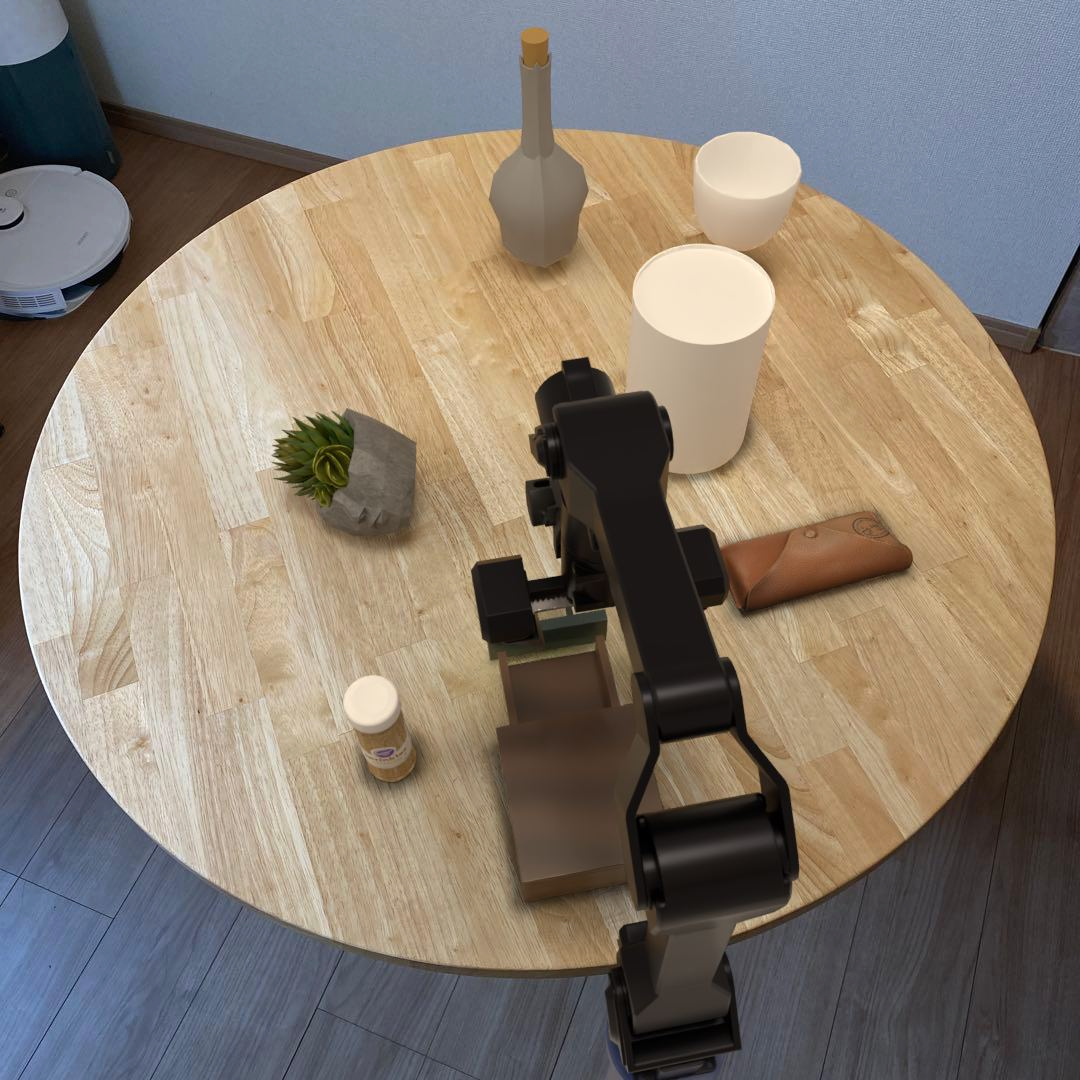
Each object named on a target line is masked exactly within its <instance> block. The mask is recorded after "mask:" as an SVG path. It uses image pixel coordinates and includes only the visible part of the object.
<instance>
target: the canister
mask: <svg viewBox="0 0 1080 1080" xmlns="http://www.w3.org/2000/svg"><path fill="white" fill-rule="evenodd" d="M775 305H776V290H775V286H774V283H773V281H772V278H770V276H769V274H768V273H767V272H766V270H765V269H764V268H763V266H761V265H760V264H759V263H758V262H757V261H755V259H753V258H752V257H750V256H748V255H746V254H744V253H742V252H741V251H736V250H733V249H730V248H727V247H723V246H718V245H716V244H710V243H687V244H681V245H676V246H673V247H670V248H667V249H665V250H662V251H661V252H659V253H657V254H655V255H653V256H652V257H651V258H649V259H648V260H647V261H646V262H644V264H643V265H642V266H641V267H640V268H639V270H638V272H637V273H636V275H635V277H634V281H633V284H632V297H631V309H630V321H629V322H630V324H629V334H628V335H629V336H628V351H627V362H626V364H627V365H626V376H625V377H626V378H625V389H624V393H630V392H636V391H649V392H651V393H652V394H653V396H654V397H655V400H656V402H657V404H658V406H662V405H663V406H665V408H666V410H667V412H668V415H669V418H670V422H671V426H672V432H673V441H674V455H673V459H672V461H671V462H669V473H672V474H678V475H679V474H680V475H695V474H702V473H706V472H710V471H713V470H715V469H717V468H719V467H722V466H724V465H725V464H726V463H729V461H731V460H732V459H733V458H734V457H735V456H736V454H737V453H738V452H739V450H740V449H741V447H742V444H743V443H744V439H745V434H746V430H747V426H748V421H749V418H750V417H749V416H750V414H751V410H752V404H753V401H754V395H755V392H756V387H757V383H758V379H759V375H760V370H761V365H762V361H763V357H764V352H765V348H766V347H765V346H766V344H767V340H768V334H769V330H770V326H771V323H772V318H773V314H774V308H775Z"/></svg>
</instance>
